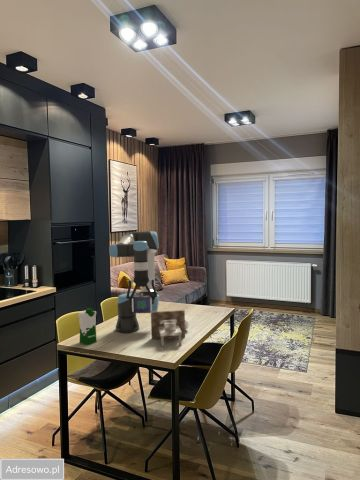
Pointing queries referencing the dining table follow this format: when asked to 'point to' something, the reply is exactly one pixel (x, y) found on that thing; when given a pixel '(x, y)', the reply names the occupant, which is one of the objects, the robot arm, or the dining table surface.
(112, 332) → the dining table surface
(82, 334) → the milk carton
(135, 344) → the dining table surface
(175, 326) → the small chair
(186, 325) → the pretzel
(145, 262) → the robot arm
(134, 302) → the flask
